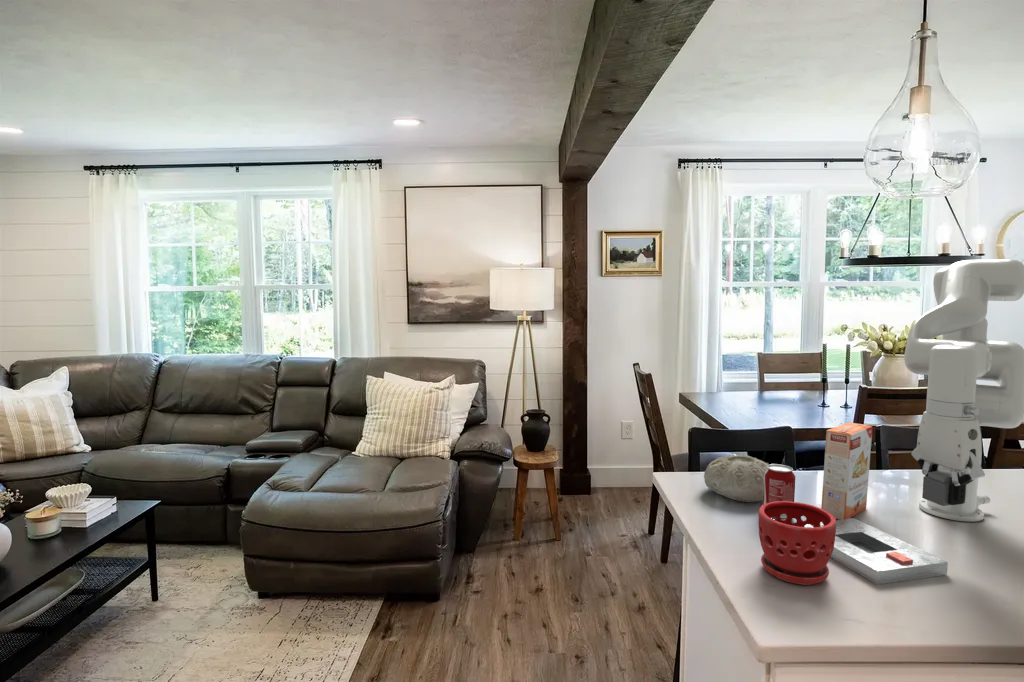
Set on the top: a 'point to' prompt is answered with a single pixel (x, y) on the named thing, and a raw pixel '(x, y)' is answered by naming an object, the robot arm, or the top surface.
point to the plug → (938, 487)
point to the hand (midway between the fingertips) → (943, 498)
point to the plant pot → (796, 541)
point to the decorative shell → (736, 477)
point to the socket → (881, 554)
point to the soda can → (778, 485)
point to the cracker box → (846, 470)
